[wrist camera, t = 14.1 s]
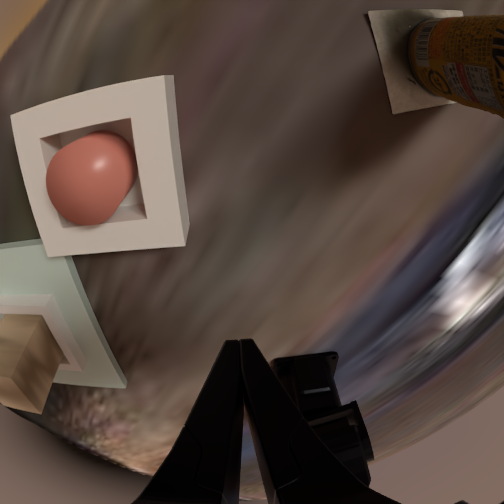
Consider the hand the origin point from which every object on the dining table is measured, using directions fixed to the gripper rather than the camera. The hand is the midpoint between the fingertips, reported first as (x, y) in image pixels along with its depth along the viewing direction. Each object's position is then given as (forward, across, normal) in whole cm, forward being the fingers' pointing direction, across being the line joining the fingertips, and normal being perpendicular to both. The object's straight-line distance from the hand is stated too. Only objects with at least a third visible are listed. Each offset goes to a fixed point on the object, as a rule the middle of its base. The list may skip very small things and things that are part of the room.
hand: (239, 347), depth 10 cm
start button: (+12, +8, -3) cm, 15 cm away
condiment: (+13, -14, -10) cm, 22 cm away
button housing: (+13, +8, -3) cm, 16 cm away
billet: (+12, +20, +11) cm, 26 cm away
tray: (+13, +20, +11) cm, 26 cm away
